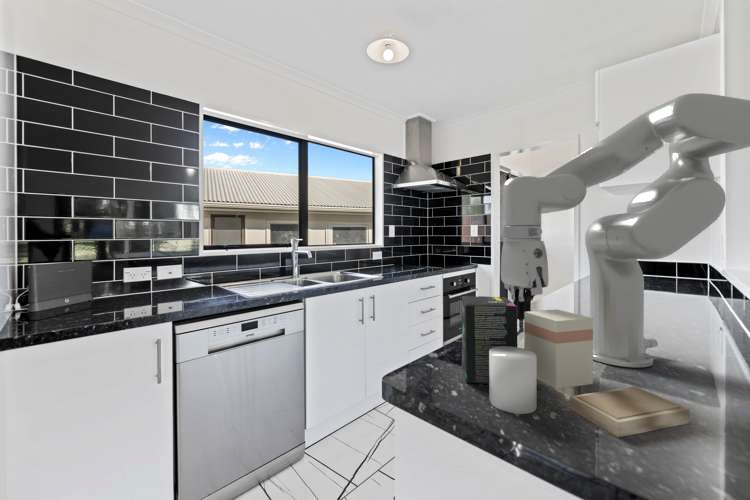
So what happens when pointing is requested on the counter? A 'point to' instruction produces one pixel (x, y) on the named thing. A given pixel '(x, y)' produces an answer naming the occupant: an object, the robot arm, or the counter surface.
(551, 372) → the cream carton
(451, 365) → the counter surface
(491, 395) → the white pillar candle
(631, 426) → the podium
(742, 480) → the counter surface
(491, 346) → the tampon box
